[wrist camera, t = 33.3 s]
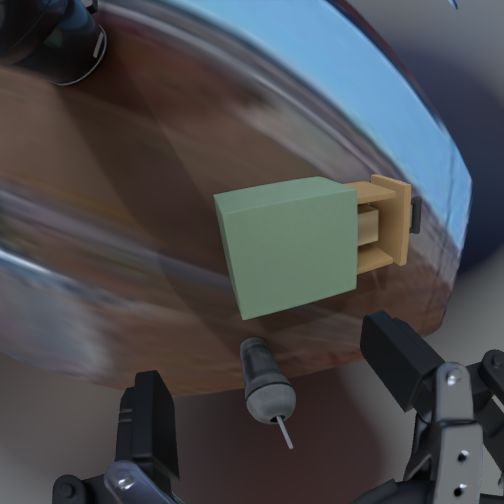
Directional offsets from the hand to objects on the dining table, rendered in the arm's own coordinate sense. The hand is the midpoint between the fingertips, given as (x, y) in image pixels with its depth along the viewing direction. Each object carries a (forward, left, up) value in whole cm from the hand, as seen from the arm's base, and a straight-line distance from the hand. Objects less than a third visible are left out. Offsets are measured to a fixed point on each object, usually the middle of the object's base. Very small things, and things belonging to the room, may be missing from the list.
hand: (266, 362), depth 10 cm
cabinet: (+6, +8, -28) cm, 30 cm away
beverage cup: (+26, +2, -28) cm, 38 cm away
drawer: (+6, +20, -27) cm, 34 cm away
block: (+6, +19, -26) cm, 33 cm away
